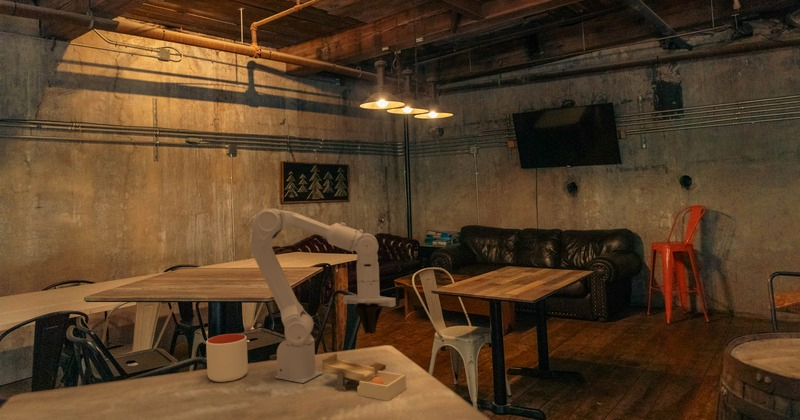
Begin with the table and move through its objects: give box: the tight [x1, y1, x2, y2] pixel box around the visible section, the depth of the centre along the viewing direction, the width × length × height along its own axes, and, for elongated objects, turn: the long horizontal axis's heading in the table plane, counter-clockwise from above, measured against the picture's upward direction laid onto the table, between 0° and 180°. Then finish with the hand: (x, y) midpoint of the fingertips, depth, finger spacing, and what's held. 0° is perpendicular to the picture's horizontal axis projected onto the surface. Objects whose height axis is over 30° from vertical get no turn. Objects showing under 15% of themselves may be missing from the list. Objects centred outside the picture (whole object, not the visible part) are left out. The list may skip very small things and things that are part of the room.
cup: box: [205, 333, 249, 383], centre depth 132 cm, size 10×10×10 cm
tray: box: [356, 370, 407, 402], centre depth 118 cm, size 8×8×3 cm
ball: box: [371, 376, 384, 385], centre depth 119 cm, size 3×3×3 cm
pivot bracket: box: [334, 372, 359, 392], centre depth 123 cm, size 3×7×4 cm, turn 150°
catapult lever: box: [321, 352, 387, 382], centre depth 125 cm, size 12×10×3 cm
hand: (370, 332), depth 131 cm, fingers closed
